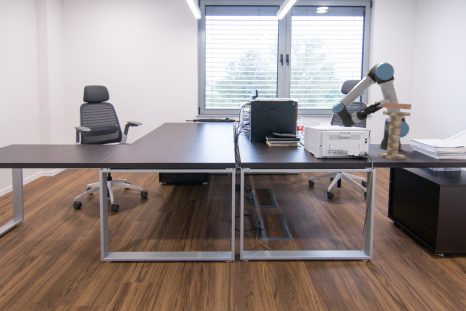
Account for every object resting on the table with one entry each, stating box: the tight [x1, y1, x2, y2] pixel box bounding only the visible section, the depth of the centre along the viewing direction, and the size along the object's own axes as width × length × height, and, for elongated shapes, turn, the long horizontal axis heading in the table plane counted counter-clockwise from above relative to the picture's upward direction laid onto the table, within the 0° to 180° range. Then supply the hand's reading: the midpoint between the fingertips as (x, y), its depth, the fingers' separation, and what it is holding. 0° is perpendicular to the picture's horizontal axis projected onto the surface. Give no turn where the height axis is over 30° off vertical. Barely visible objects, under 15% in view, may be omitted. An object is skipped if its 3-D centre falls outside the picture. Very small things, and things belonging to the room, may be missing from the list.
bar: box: [374, 101, 412, 110], centre depth 275 cm, size 24×4×3 cm, turn 36°
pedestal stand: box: [378, 110, 411, 161], centre depth 275 cm, size 12×12×30 cm
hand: (386, 101), depth 278 cm, fingers closed on bar, 4 cm apart
